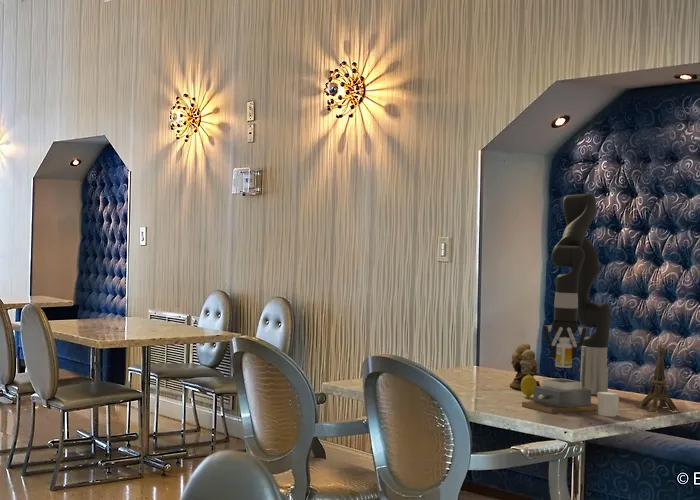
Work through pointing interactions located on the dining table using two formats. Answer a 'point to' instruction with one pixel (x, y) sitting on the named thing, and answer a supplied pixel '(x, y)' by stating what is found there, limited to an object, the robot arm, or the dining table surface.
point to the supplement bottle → (564, 353)
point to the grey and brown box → (561, 397)
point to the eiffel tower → (658, 388)
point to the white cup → (607, 403)
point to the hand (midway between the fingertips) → (563, 357)
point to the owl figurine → (523, 365)
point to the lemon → (528, 385)
